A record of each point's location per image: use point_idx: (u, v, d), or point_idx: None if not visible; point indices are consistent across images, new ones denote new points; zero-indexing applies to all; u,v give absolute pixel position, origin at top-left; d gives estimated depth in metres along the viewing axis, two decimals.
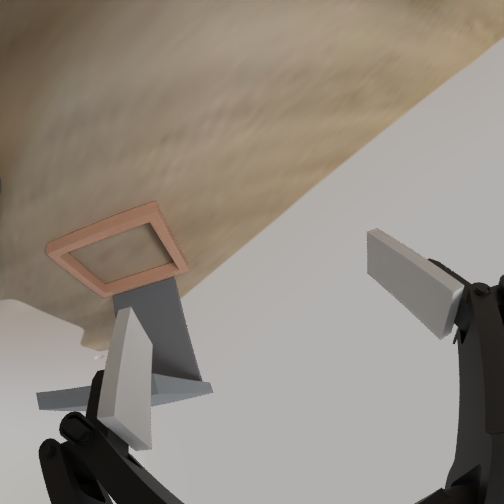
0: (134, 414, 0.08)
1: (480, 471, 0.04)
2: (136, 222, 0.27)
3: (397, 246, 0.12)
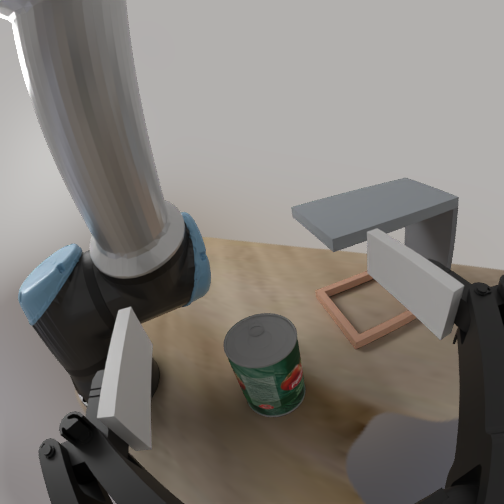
0: (134, 414, 0.08)
1: (480, 471, 0.04)
2: (324, 296, 0.47)
3: (397, 246, 0.12)
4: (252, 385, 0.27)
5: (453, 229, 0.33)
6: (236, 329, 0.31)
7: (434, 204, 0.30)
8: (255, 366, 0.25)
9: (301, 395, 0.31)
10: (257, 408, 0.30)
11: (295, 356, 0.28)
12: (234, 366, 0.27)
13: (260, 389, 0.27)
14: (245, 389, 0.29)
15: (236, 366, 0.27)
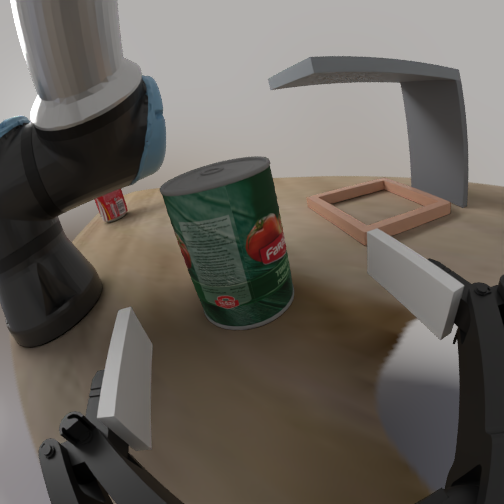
0: (134, 414, 0.08)
1: (480, 471, 0.04)
2: (317, 200, 0.37)
3: (397, 246, 0.12)
4: (198, 243, 0.17)
5: (461, 105, 0.23)
6: (185, 177, 0.21)
7: None
8: (197, 187, 0.16)
9: (287, 293, 0.21)
10: (215, 312, 0.21)
11: (269, 194, 0.18)
12: (170, 208, 0.17)
13: (211, 251, 0.18)
14: (191, 264, 0.19)
15: (172, 205, 0.17)
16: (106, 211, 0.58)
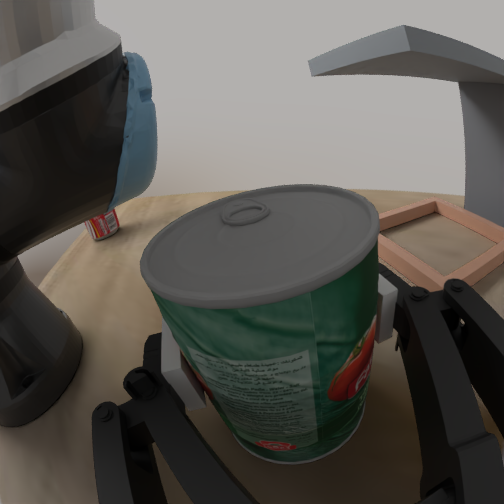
0: (192, 371, 0.10)
1: None
2: None
3: None
4: (231, 387, 0.08)
5: None
6: (192, 221, 0.11)
7: None
8: (234, 297, 0.06)
9: (362, 408, 0.12)
10: (252, 446, 0.11)
11: (376, 281, 0.08)
12: (165, 314, 0.08)
13: (259, 400, 0.08)
14: (214, 399, 0.09)
15: (169, 313, 0.07)
16: (94, 227, 0.48)
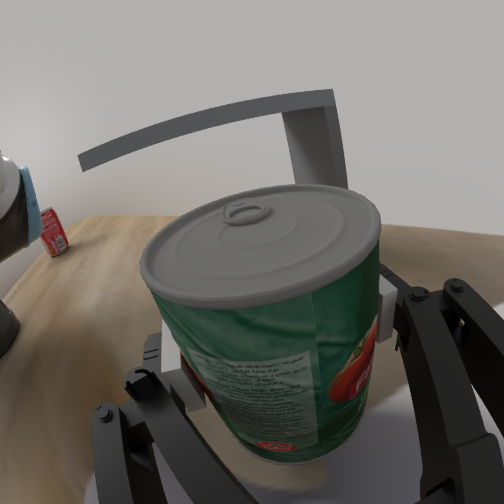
0: None
1: None
2: None
3: None
4: (231, 388, 0.08)
5: (334, 141, 0.22)
6: (192, 221, 0.11)
7: (272, 96, 0.20)
8: (235, 298, 0.06)
9: (362, 408, 0.11)
10: (252, 447, 0.11)
11: (377, 281, 0.08)
12: (164, 314, 0.08)
13: (259, 401, 0.08)
14: (214, 400, 0.09)
15: (169, 313, 0.07)
16: (48, 247, 0.58)
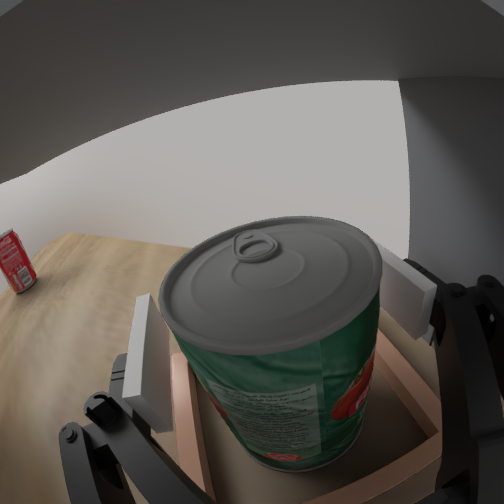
0: (157, 395, 0.09)
1: (469, 473, 0.04)
2: (179, 376, 0.17)
3: None
4: (246, 411, 0.08)
5: None
6: (203, 253, 0.12)
7: None
8: (254, 347, 0.06)
9: (361, 420, 0.12)
10: (260, 456, 0.11)
11: (377, 317, 0.09)
12: (185, 351, 0.08)
13: (270, 422, 0.08)
14: (227, 418, 0.10)
15: (190, 351, 0.08)
16: (10, 282, 0.39)
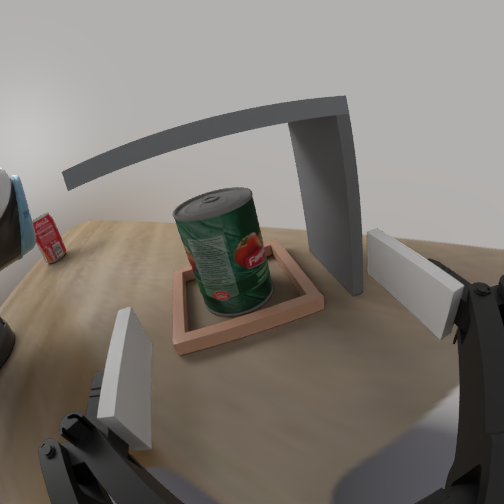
0: (134, 414, 0.08)
1: (480, 471, 0.04)
2: (177, 278, 0.34)
3: (397, 246, 0.12)
4: (201, 254, 0.25)
5: (347, 155, 0.20)
6: (190, 202, 0.29)
7: None
8: (200, 216, 0.23)
9: (266, 289, 0.29)
10: (213, 303, 0.28)
11: (251, 219, 0.25)
12: (181, 229, 0.25)
13: (210, 259, 0.25)
14: (196, 268, 0.27)
15: (182, 227, 0.25)
16: (45, 254, 0.56)
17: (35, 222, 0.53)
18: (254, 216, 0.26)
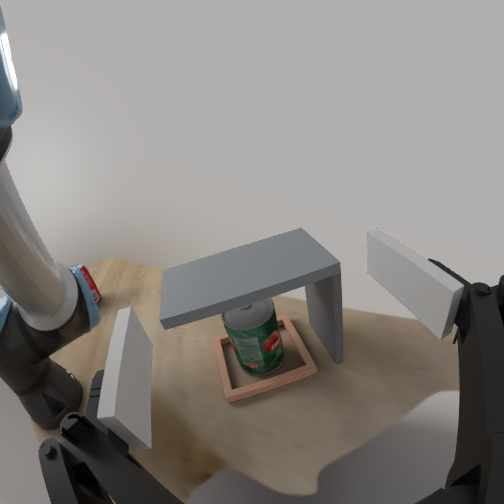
0: (134, 414, 0.08)
1: (480, 471, 0.04)
2: (217, 345, 0.48)
3: (397, 246, 0.12)
4: (242, 345, 0.39)
5: (336, 296, 0.34)
6: None
7: (296, 276, 0.32)
8: (243, 328, 0.37)
9: (281, 358, 0.43)
10: (247, 368, 0.42)
11: (273, 324, 0.39)
12: (228, 330, 0.39)
13: (248, 348, 0.39)
14: (237, 350, 0.40)
15: (230, 330, 0.38)
16: None
17: None
18: (275, 320, 0.40)
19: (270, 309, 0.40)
